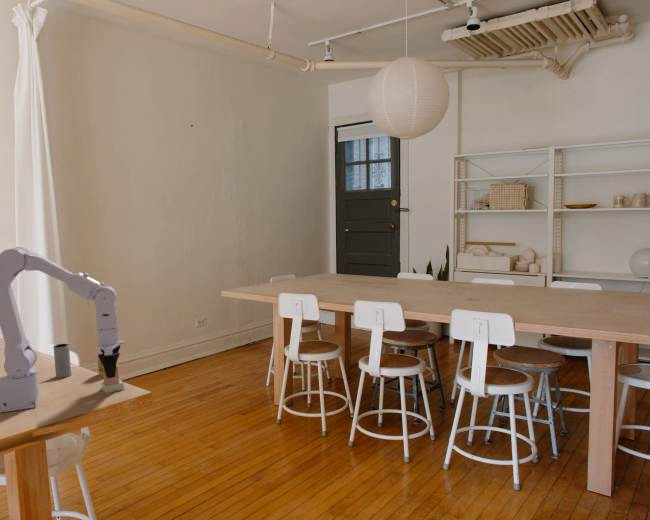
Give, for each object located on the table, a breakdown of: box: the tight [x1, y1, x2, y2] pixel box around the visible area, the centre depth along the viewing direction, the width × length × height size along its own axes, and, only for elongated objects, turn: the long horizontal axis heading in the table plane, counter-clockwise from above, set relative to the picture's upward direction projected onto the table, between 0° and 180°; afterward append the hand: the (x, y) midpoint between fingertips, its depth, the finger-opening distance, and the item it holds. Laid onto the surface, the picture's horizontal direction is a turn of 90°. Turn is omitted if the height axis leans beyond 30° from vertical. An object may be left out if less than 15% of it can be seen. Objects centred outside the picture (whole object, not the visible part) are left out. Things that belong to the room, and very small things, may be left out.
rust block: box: [103, 362, 121, 385], centre depth 155 cm, size 4×4×5 cm
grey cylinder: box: [53, 343, 72, 379], centre depth 175 cm, size 4×4×10 cm
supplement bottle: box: [97, 348, 104, 377], centre depth 172 cm, size 5×5×10 cm
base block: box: [99, 387, 126, 395], centre depth 156 cm, size 6×6×2 cm
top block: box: [101, 379, 125, 394], centre depth 156 cm, size 5×5×2 cm
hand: (111, 373), depth 155 cm, fingers open, 7 cm apart
